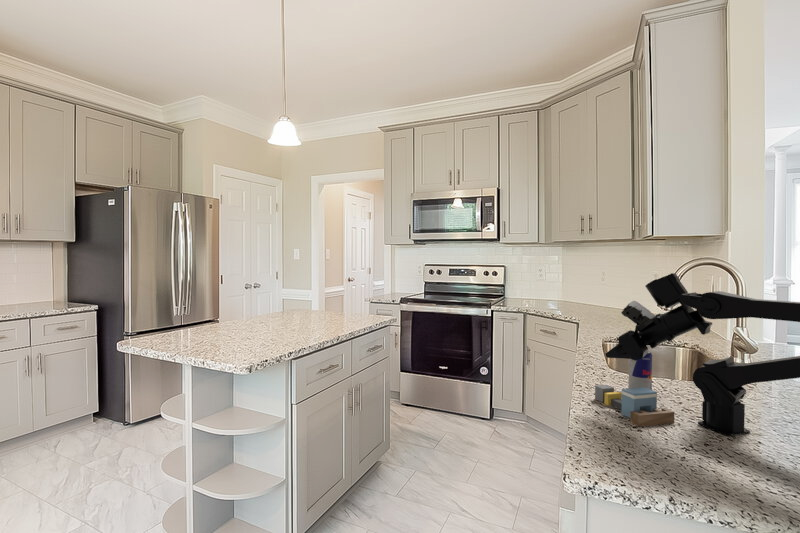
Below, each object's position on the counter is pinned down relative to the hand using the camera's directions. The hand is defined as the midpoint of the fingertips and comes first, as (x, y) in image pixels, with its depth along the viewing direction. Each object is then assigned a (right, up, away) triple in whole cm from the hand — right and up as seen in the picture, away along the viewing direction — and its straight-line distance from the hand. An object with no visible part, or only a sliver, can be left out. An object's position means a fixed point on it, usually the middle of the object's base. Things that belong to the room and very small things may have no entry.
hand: (613, 350), depth 104 cm
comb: (+1, -13, -14) cm, 19 cm away
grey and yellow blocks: (-1, -13, -7) cm, 15 cm away
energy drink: (+9, -13, +3) cm, 16 cm away
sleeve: (0, -13, -11) cm, 17 cm away
